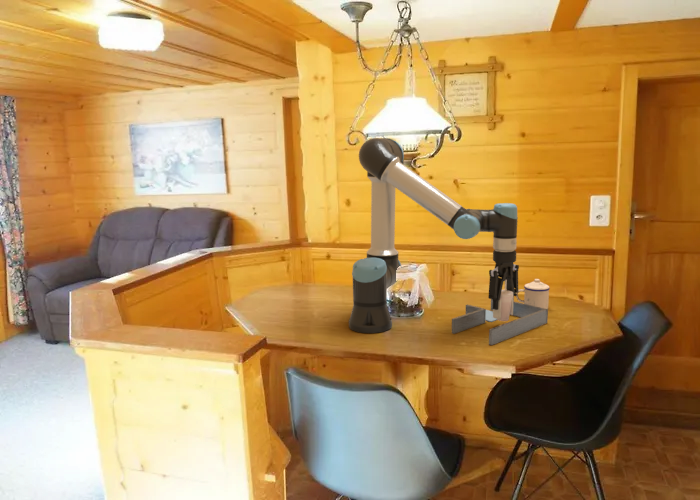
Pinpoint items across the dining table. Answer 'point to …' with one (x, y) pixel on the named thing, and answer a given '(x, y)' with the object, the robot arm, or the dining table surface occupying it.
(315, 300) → the dining table surface
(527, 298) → the teacup with lid
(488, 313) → the pad
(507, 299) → the smoothie
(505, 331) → the channel
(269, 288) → the dining table surface
